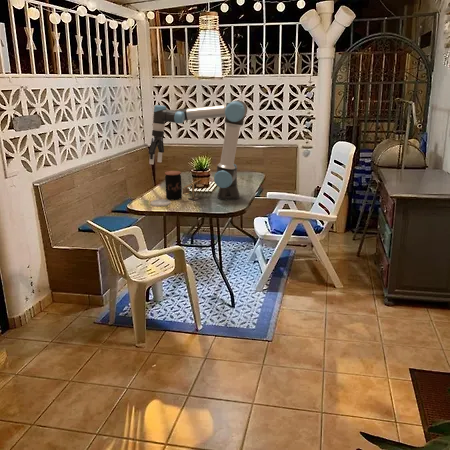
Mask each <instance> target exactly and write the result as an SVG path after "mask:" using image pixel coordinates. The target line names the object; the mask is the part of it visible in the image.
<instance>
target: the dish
mask: <svg viewBox="0 0 450 450" xmlns="http://www.w3.org/2000/svg"><path fill="white" fill-rule="evenodd" d="M171 202H172V200H168V199H167V198H166V199H165V198H164V199H163V198H159V199H153V200H151V201H150V203H149V204H150V206H152V207H160V208H161V207H167V206H170V205H171V204H172V203H171Z"/></svg>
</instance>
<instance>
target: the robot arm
mask: <svg viewBox="0 0 450 450" xmlns="http://www.w3.org/2000/svg"><path fill="white" fill-rule="evenodd" d="M247 114H248V106H247V104H246V103H245V102H244V101H242V100H233V101H230V102H226V103H225V104H218V105H209V106H207V105H206V106H200V107H199V106H198V107H189V108H178V109H174V110H173V109H168V108H167V106H166V105H162V104H156V105H154V109H153V117H152V118H153V121H152V131H151V136H152V138H151V141H150V145H149V150H148V154H149V160H148V161H149V165H154V163H155V152H156V149H158V152H157V163H162V162H163V154H164V153H165V146H164V136H165V129H166V127H165V126H166V122H167V123H172V124H173V123H175V124H183V123H184V122H185V121H192V120H193V121H195V120H205V119H214V118H215V119H217V118H218V119H219V118H224V124H225V132H224V139H223V144H222V151H221V156H220V162H219V163H218V164H217V165H216V171H215V173H214V176H213V182H214V183H215V185H216V186H217V188H218V187H219V188H218V192H217V193H216V194H217V199H219V200H223V201H234V200H238V199H240V197H241V196H240V192H239V189H238V166H237V164H236V163H235V159H236V153H237V148H238V147H237V146H238V141H239V137H240V136H239V135H240V130H241V127H243V126H244V122H245V117H246V115H247Z"/></svg>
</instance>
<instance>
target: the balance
mask: <svg viewBox="0 0 450 450" xmlns="http://www.w3.org/2000/svg"><path fill="white" fill-rule="evenodd" d="M201 181H202V179H200V178H199V179H198V180H197V179H196V181H193V182H191V183H189V184H187V185H184V186H183V188H182V195H190V194H191V193H192V194H191V197H188V198H187V199H188V200H189V201H192V202H195V201H199V198H198V197H195V187H197V188H203V187H204V184H197V183H200V182H201ZM195 184H196V185H195ZM189 187H191V192H190V188H189Z"/></svg>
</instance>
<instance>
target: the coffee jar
mask: <svg viewBox="0 0 450 450" xmlns="http://www.w3.org/2000/svg"><path fill="white" fill-rule="evenodd" d="M164 174H165V177H164V178H165V179H164V180H165V181H164V182H165V196H166V200H170V201H180V200H181V199H182V197H183V194H182V193H183V188H182V175H181V174H182V172H181V171H179V170H169V171H165V172H164Z"/></svg>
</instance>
